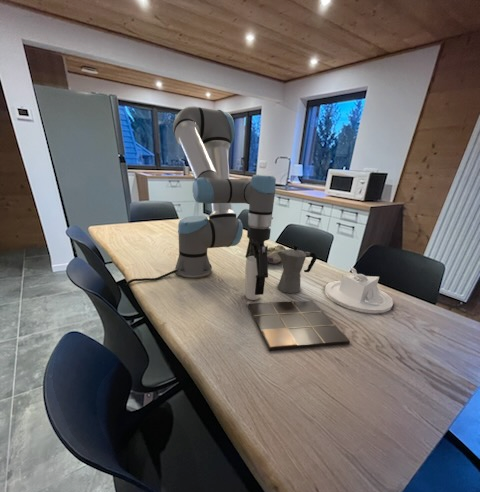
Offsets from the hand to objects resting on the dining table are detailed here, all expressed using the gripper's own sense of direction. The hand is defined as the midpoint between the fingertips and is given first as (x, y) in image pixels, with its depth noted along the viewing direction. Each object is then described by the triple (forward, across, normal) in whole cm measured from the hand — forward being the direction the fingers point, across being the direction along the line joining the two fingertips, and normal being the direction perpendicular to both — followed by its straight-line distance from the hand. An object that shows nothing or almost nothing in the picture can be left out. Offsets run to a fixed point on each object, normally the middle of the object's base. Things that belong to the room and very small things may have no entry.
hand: (253, 285), depth 95 cm
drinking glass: (+5, 0, 0) cm, 5 cm away
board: (+5, -18, -9) cm, 20 cm away
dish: (+5, -3, -42) cm, 42 cm away
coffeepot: (+5, +6, -18) cm, 20 cm away
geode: (+5, +38, -20) cm, 43 cm away
